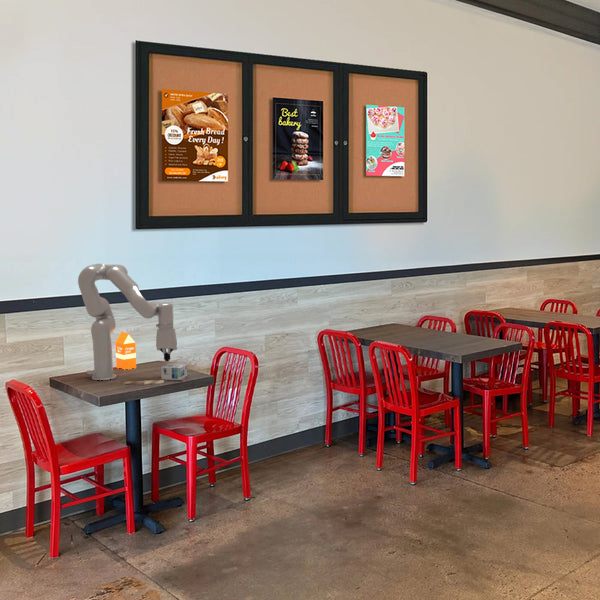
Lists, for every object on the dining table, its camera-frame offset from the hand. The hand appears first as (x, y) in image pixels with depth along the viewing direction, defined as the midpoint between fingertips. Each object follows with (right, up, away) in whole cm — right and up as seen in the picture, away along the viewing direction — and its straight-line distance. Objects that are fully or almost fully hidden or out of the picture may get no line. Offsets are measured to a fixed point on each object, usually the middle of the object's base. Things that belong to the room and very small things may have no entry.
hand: (167, 360), depth 396 cm
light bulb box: (-2, -5, 0) cm, 6 cm away
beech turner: (-9, -11, -9) cm, 17 cm away
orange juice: (-28, -6, +27) cm, 39 cm away
